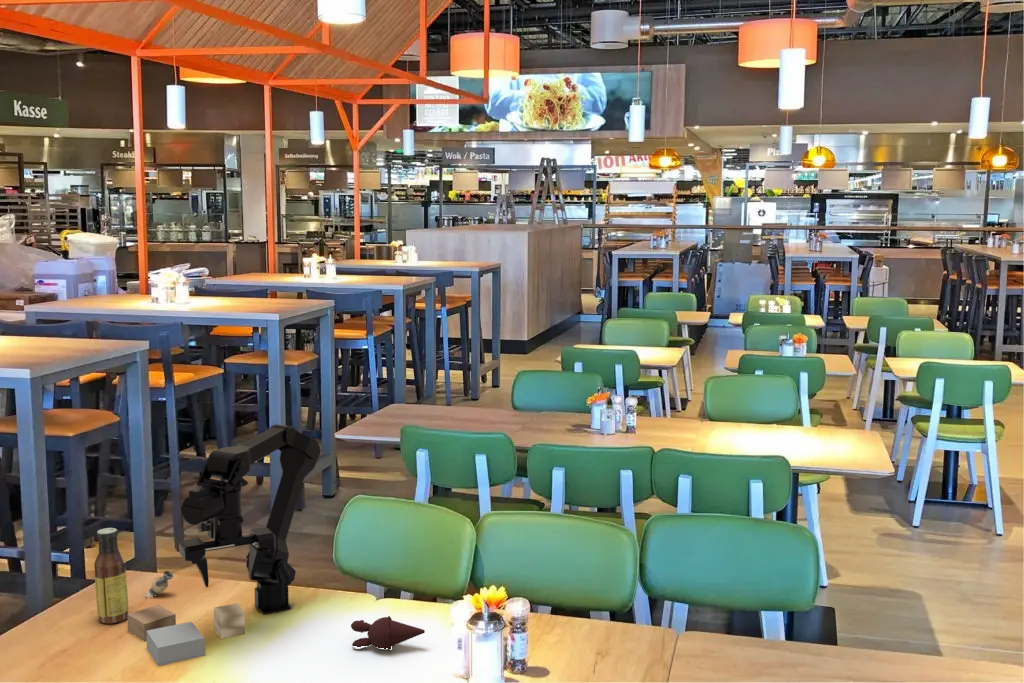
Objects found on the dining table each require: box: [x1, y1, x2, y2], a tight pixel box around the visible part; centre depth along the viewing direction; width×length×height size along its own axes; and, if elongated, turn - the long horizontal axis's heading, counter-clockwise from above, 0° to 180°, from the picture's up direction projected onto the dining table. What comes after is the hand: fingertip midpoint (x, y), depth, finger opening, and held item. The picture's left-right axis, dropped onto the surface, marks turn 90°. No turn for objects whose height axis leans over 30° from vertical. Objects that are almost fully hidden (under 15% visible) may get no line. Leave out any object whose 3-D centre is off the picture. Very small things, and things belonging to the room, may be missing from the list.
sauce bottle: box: [93, 527, 129, 625], centre depth 214 cm, size 7×6×20 cm
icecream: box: [350, 615, 426, 649], centre depth 204 cm, size 7×7×15 cm
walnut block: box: [126, 604, 177, 642], centre depth 210 cm, size 7×7×4 cm
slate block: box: [146, 621, 206, 667], centre depth 201 cm, size 9×9×4 cm
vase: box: [144, 570, 174, 597], centre depth 228 cm, size 5×5×6 cm
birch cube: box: [213, 602, 246, 640], centre depth 210 cm, size 5×5×5 cm
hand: (228, 582), depth 209 cm, fingers open, 9 cm apart
